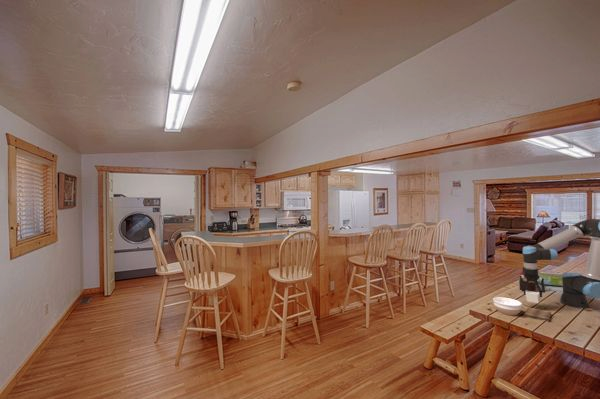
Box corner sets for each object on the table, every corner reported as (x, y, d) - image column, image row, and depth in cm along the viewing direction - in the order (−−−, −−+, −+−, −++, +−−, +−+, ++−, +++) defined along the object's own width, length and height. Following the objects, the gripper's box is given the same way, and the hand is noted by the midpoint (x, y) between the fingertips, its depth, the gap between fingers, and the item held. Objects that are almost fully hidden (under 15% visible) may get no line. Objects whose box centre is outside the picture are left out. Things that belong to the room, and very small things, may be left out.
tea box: (542, 290, 225) (541, 273, 225) (537, 286, 234) (536, 270, 234) (565, 292, 219) (564, 274, 219) (558, 288, 228) (558, 271, 228)
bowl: (524, 319, 173) (524, 307, 173) (494, 314, 181) (494, 302, 182) (520, 310, 187) (519, 299, 187) (492, 306, 195) (491, 295, 195)
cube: (539, 300, 188) (538, 292, 188) (538, 303, 184) (537, 294, 184) (528, 299, 192) (527, 290, 192) (527, 301, 188) (526, 292, 188)
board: (551, 315, 177) (551, 312, 177) (549, 322, 168) (548, 318, 168) (527, 310, 186) (527, 307, 186) (524, 316, 177) (524, 313, 177)
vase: (523, 288, 231) (522, 265, 231) (538, 291, 221) (537, 267, 222) (516, 290, 227) (515, 266, 227) (532, 293, 217) (531, 269, 217)
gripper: (549, 269, 184) (551, 302, 183) (514, 265, 198) (517, 296, 197) (548, 271, 179) (550, 305, 178) (513, 267, 193) (515, 298, 192)
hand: (533, 300), depth 188 cm, fingers closed on cube, 6 cm apart
